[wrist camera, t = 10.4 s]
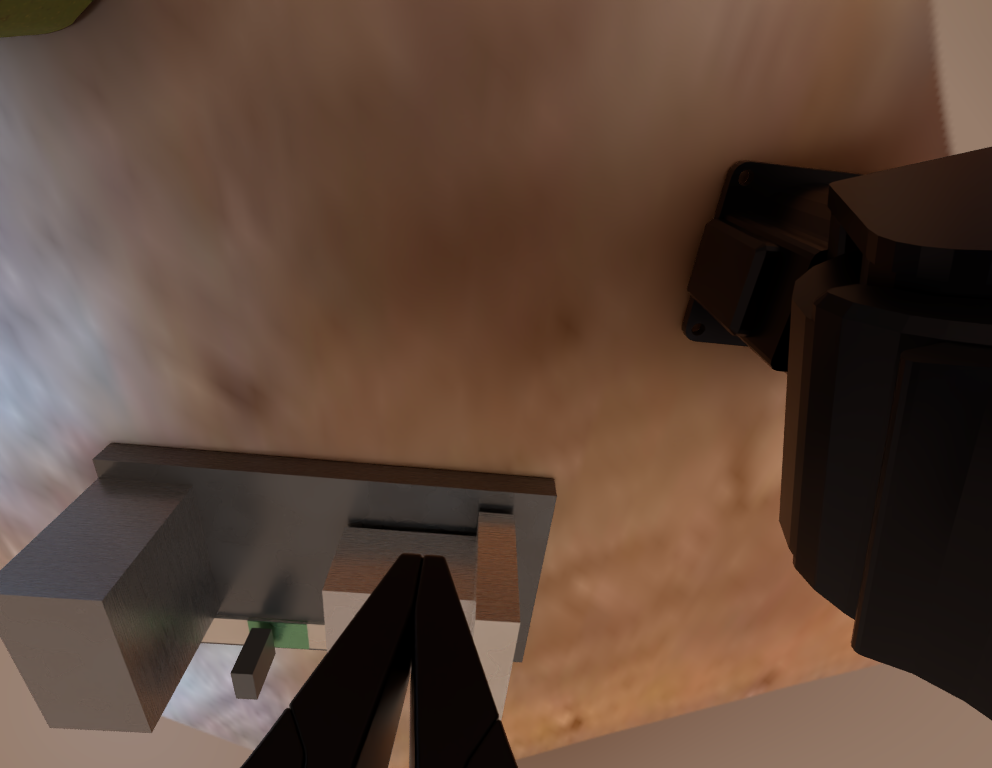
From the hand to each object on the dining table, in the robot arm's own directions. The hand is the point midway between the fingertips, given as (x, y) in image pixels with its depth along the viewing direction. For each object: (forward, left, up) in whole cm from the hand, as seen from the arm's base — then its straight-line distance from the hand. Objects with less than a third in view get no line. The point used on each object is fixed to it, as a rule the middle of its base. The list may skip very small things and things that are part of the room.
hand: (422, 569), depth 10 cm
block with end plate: (+1, +13, -11) cm, 17 cm away
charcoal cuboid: (+9, +18, -10) cm, 22 cm away
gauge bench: (+5, +13, -12) cm, 18 cm away
